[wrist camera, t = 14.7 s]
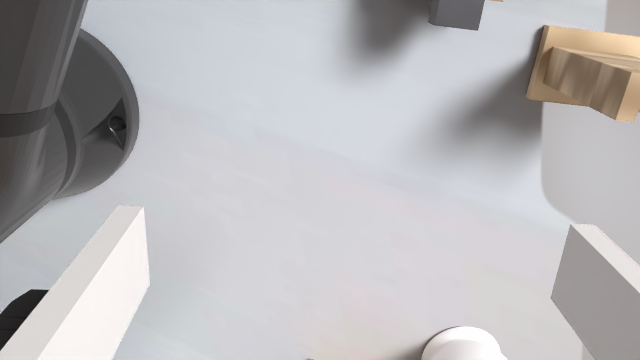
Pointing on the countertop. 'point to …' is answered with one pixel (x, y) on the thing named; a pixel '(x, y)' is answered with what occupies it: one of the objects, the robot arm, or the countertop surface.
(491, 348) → the jar
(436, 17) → the rail
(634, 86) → the hook stand
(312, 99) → the countertop surface
